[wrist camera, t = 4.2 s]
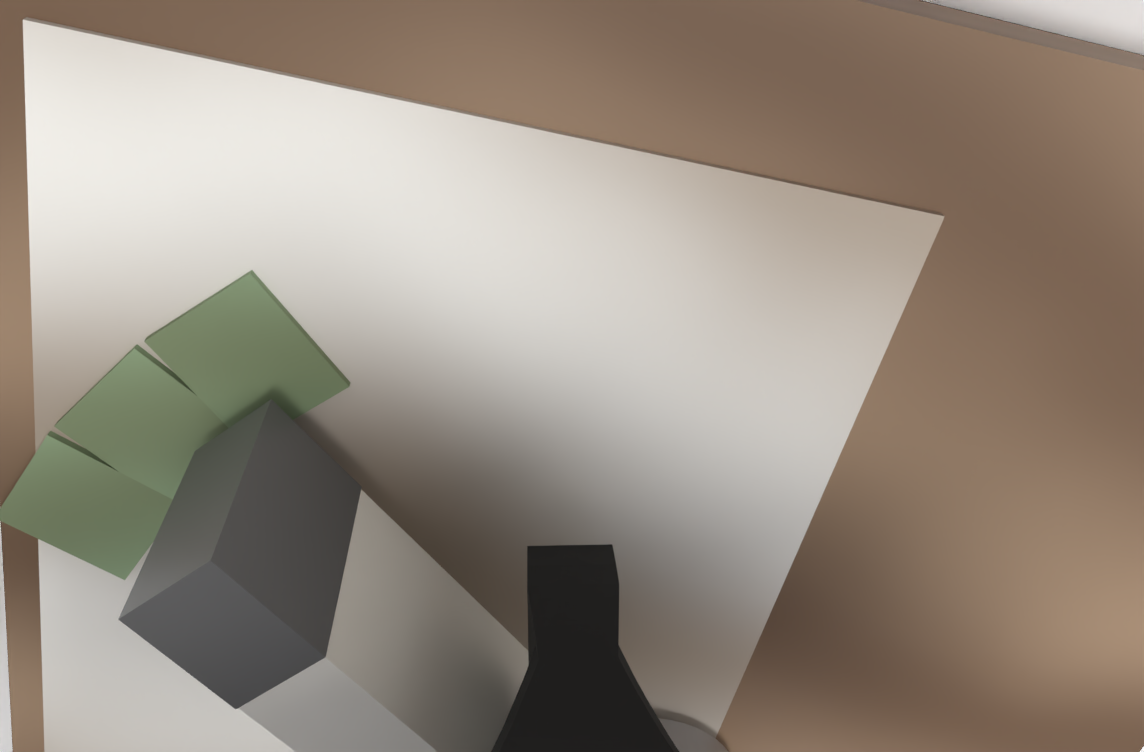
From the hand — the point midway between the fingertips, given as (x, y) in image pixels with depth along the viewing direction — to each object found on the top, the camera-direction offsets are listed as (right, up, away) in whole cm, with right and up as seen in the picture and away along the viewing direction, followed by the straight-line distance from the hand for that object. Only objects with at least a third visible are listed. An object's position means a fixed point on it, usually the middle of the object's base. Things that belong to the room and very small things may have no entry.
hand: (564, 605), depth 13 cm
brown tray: (+1, 0, +3) cm, 3 cm away
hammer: (-1, -1, +2) cm, 2 cm away
